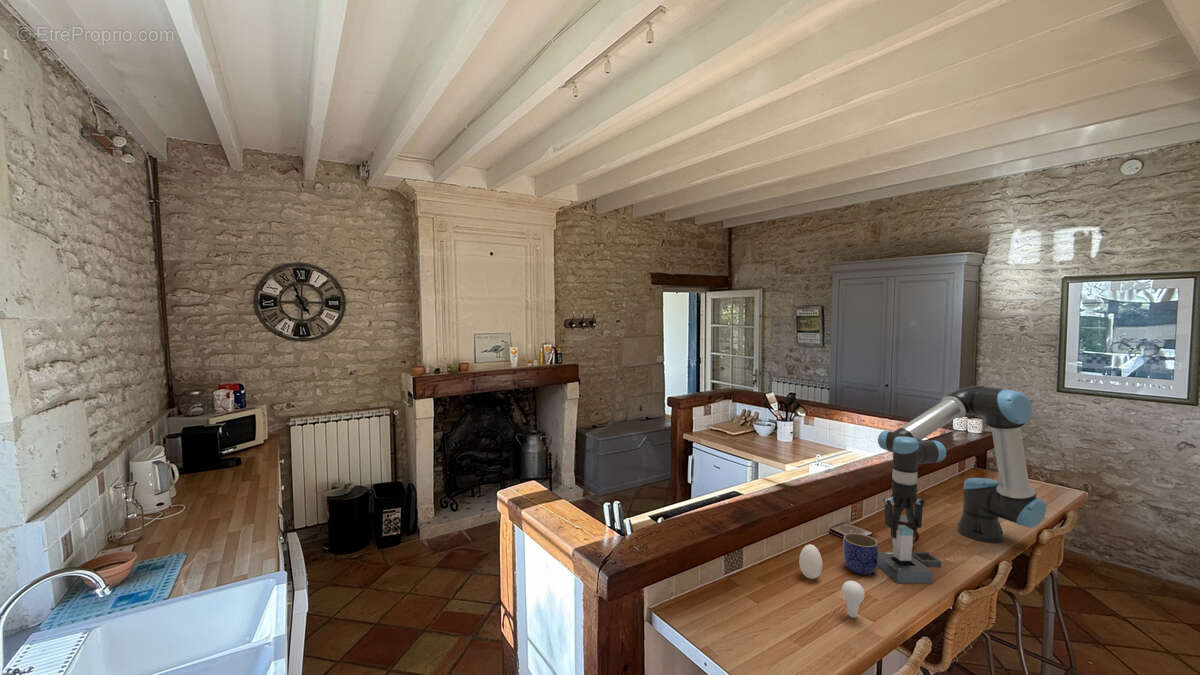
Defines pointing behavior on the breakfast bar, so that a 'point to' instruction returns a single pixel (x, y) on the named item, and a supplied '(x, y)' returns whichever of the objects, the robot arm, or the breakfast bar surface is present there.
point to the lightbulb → (853, 596)
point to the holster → (931, 560)
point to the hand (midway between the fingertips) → (902, 546)
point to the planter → (860, 553)
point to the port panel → (904, 569)
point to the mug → (905, 522)
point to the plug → (904, 544)
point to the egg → (810, 561)
